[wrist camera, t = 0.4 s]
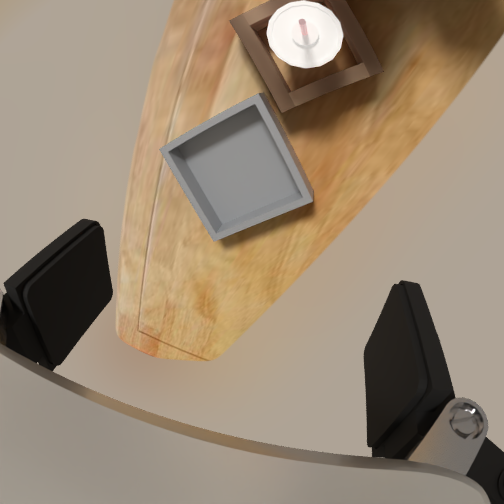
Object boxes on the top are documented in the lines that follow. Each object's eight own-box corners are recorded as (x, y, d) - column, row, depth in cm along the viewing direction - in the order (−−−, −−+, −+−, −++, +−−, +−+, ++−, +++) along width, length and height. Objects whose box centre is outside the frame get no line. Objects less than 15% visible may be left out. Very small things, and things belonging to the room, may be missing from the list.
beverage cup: (278, 20, 28) (253, -16, 16) (335, 21, 27) (347, -16, 15) (279, 72, 31) (256, 64, 19) (336, 74, 30) (350, 66, 18)
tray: (263, 92, 32) (258, 93, 29) (313, 191, 37) (313, 201, 34) (171, 142, 37) (159, 149, 34) (221, 228, 41) (213, 241, 38)
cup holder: (328, -13, 25) (330, -24, 21) (376, 72, 28) (383, 71, 25) (238, 27, 29) (229, 20, 25) (285, 109, 33) (281, 112, 29)
